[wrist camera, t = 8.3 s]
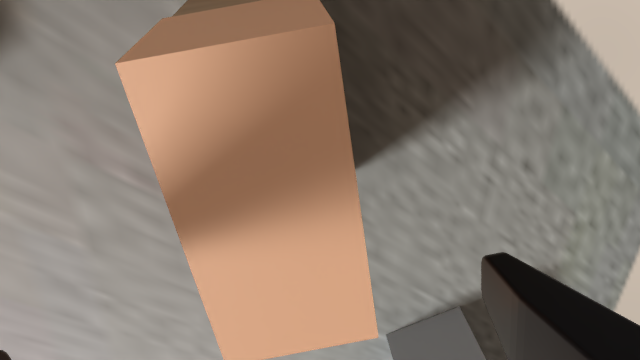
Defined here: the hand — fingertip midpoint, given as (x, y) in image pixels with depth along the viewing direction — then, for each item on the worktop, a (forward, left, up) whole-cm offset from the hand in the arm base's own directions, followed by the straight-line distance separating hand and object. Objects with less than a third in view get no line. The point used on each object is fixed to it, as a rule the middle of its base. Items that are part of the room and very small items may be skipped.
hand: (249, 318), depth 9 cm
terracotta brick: (+1, -1, -7) cm, 7 cm away
